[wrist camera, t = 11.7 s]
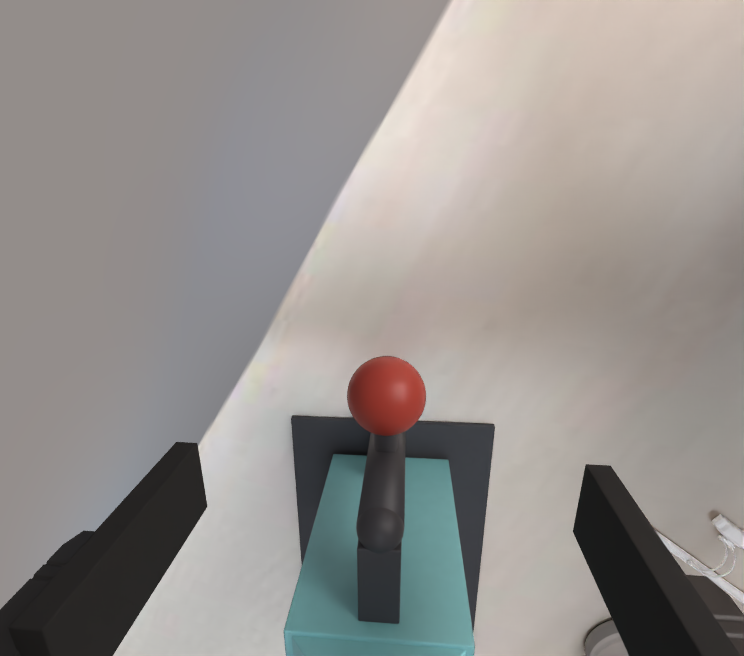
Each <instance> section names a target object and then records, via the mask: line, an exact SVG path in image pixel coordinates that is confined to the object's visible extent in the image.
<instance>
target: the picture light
mask: <svg viewBox="0 0 744 656" xmlns="http://www.w3.org/2000/svg"><path fill="white" fill-rule="evenodd" d="M712 523H713V524H714V525H715V526H716V528H717V529H718V531H719V532H720V533H721V534H722V535H723V536H724V537H722V536H721V535H719V536H718V539H719V540H721V541H722V542H723V544H724V547H725V557H724V560H723V562H722V563H721V564H720V565H719V566H718V567H716V568H714V569H709V568H708V567H706V566H705V565H703V564H702V563H701V562H699V561H698V560H697V559H695V558H694V557H692V556H691V555H690V554H688V553H687V552H685V551H684V550H683V549H681V548H680V547H678V546H677V545H676V544H674V543H673V542H671V541H670V540H669V539H667V538H666V537H664V536H663V535H662V534H660V533H659V532H657V531H656V530H655V529H654V530H655V531H656V533H657V534H658V535H659V537H660V538H661V540H662V541H663V543H664V544H665V546H666V547H667V549H668V550H669V551H670V552H672V553H673V554H674V555H676V556H677V557H679V558H680V559H681V560H683V561H684V562H686V563H687V564H688V565H690V566H691V567H693V568H694V569H695V570H697V571H698V572H700V573H701V574H702V575H704V576H707V577H708V578H709V579H710V580H711V581H713V582H714V583H715V584H716V585H718V586H719V587H721V588H722V589H724V590H725V591H726V592H728V593H729V594H731V595H732V596H733V597H735V598H736V599H738V600H739V601H740V602H741V603H742V604H744V593H743V592H741V591H740V590H738V589H737V588H736V587H734V586H733V585H731V584H730V583H729V582H727V581H726V580H724V579H723V578H722V577H724V576H726V575H728V574H729V573H731V571H732V570H733V569H734V567H735V564H736V555H735V552H734V549H735V545H736V546H738V547H740V548H742V549H744V532H743V531H742V530H741V529H739V528H738V527H737V526H735V525H734V524H733V523H731V522H730V521H729V520H727V519H726V518H725V517H724V516H722V515H719V516H717V517H716V518H715V519H713V520H712ZM733 544H735V545H733ZM726 545H728V546H729V547H730V548H731V549H732V552H733V555H734V562H733V565H732V567H731V569H730V570H729V571H728V572H727V573H725V574H723V575H717V574H716V573H715V572H713V571H715V570H717V569H719V568H721V567H722V566H723V565H724V563H725V561H726V559H727V554H728V553H727V547H726Z"/></svg>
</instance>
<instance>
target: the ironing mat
mask: <svg viewBox="0 0 744 656" xmlns="http://www.w3.org/2000/svg"><path fill="white" fill-rule="evenodd" d="M291 424H292V438H293V451H294V465H295V479H296V492H297V506H298V520H299V533H300V547H301V561H302V564H303V560H304V557H305V553H306V550H307V546H308V543H309V539H310V536H311V532H312V528H313V525H314V521H315V518H316V514H317V511H318V507H319V504H320V500H321V497H322V493H323V489H324V486H325V482H326V479H327V475H328V472H329V468H330V465H331V461H332V457H333V454H343V455H363V456H367V453H368V446H369V440H370V433H371V432H369V431H367V430H365V429H364V428H363V427H361V426H360V425H359V424H358V423H357V421H356V420H355V419H354V418H334V417H310V416H292V418H291ZM494 430H495V427H494V424H478V423H454V422H430V421H417V422H416V423H415V424H414V425H413V426H412V427H411V428H409V429H408V430H406V451H405V458H425V459H446V460H448V461H449V467H450V475H451V482H452V489H453V496H454V503H455V510H456V517H457V524H458V531H459V538H460V545H461V552H462V559H463V566H464V573H465V580H466V588H467V595H468V602H469V609H470V616H471V623H472V630H474V620H475V611H476V601H477V592H478V582H479V573H480V563H481V554H482V544H483V535H484V525H485V515H486V506H487V496H488V487H489V477H490V468H491V458H492V449H493V439H494Z"/></svg>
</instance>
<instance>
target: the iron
mask: <svg viewBox="0 0 744 656" xmlns="http://www.w3.org/2000/svg"><path fill="white" fill-rule="evenodd" d="M347 400H348V406H349V409H350V411H351V414H352V416H353V417H354V419H355V420H356V421H357V423H358V424H359V425H360V426H361V427H363V428H364V429H365V430H367V431H369V432H371V433H370V440H369V446H368V453H367V456H363V455H343V454H333V457H332V461H331V465H330V468H329V472H328V475H327V479H326V482H325V486H324V489H323V493H322V497H321V500H320V504H319V507H318V511H317V514H316V518H315V521H314V525H313V528H312V532H311V536H310V539H309V543H308V546H307V550H306V553H305V557H304V560H303V564H302V567H301V571H300V575H299V578H298V582H297V585H296V589H295V592H294V596H293V599H292V603H291V607H290V610H289V614H288V617H287V621H286V624H285V628H284V639H285V650H286V656H474V650H475V644H474V637H473V630H472V623H471V616H470V609H469V602H468V595H467V588H466V580H465V573H464V566H463V559H462V552H461V545H460V538H459V531H458V524H457V517H456V510H455V503H454V496H453V489H452V482H451V475H450V467H449V461H448V460H446V459H425V458H405V451H406V430H408V429H409V428H411V427H412V426H413V425H414V424H415V423H416V422H417V421H418V419H419V418H420V416H421V415H422V412H423V410H424V407H425V401H426V391H425V386H424V383H423V380H422V378H421V376H420V374H419V373H418V372H417V370H416V369H415V368H414V367H413V366H412V365H410V364H409V363H408V362H406V361H404V360H402V359H400V358H396V357H391V356H382V357H377V358H373V359H371V360H369V361H367V362H365V363H364V364H362V365H361V366H360V367H359V368H358V369H357V370H356V372H355V373H354V374H353V376H352V378H351V380H350V383H349V386H348V391H347Z"/></svg>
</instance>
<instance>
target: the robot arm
mask: <svg viewBox="0 0 744 656" xmlns="http://www.w3.org/2000/svg"><path fill="white" fill-rule="evenodd" d="M206 508H207V502H206V495H205V489H204V483H203V476H202V470H201V464H200V457H199V451H198V445H197V443H185V442H176V443H175V444H174V445H173V446H172V448H171V449H170V450H169V451H168V452H167V453H166V454H165V455H164V456H163V457H162V458H161V460H160V461H159V462H158V463H157V464H156V465H155V466H154V467H153V468H152V469H151V470H150V472H149V473H148V474H147V475H146V476H145V477H144V478H143V479H142V480H141V481H140V483H139V484H138V485H137V486H136V487H135V488H134V489H133V490H132V491H131V492H130V494H129V495H128V496H127V497H126V498H125V499H124V500H123V501H122V502H121V504H120V505H119V506H118V507H117V508H116V509H115V510H114V511H113V512H112V513H111V515H110V516H109V517H108V518H107V519H106V520H105V521H104V522H103V523H102V524H101V526H99V528H98V529H97V530H96V531H95V532H94V531H83V532H81V533H80V534H78V535H77V536H75V537H74V538H72V539H71V540H69V541H68V542H66V543H65V544H63V545H62V546H61V547H60V548H59V549H58V550H57V551H56V552H55V554H54V555H53V556H52V557H51V558H50V559H49V560H48V561H47V564H46V565H43V566H42V567H41V568H40V569H39V570H38V571H37V572H36V573H35V574H34V577H33V578H32V579H29V581H28V582H26V584H25V585H24V586H23V587H22V588H21V589H20V590H19V591H18V592H17V593H16V594H15V595H14V596H13V597H12V598H11V599H10V600H9V601H8V602H7V603H6V604H5V605H4V606H3V607H2V608H1V610H0V656H113V654H114V653H115V651H116V650H117V648H118V646H119V645H120V643H121V642H122V640H123V638H124V637H125V635H126V634H127V632H128V631H129V629H130V627H131V626H132V624H133V623H134V621H135V620H136V618H137V616H138V615H139V613H140V612H141V610H142V609H143V607H144V605H145V604H146V602H147V601H148V599H149V598H150V596H151V594H152V593H153V591H154V590H155V588H156V587H157V585H158V583H159V582H160V580H161V579H162V577H163V576H164V574H165V572H166V571H167V569H168V568H169V566H170V565H171V563H172V561H173V560H174V558H175V557H176V555H177V554H178V552H179V550H180V549H181V547H182V546H183V544H184V542H185V541H186V539H187V538H188V536H189V535H190V533H191V531H192V530H193V528H194V527H195V525H196V524H197V522H198V520H199V519H200V517H201V516H202V514H203V513H204V511H205V509H206ZM573 533H574V535H575V537H576V540H577V542H578V544H579V546H580V548H581V551H582V553H583V555H584V557H585V559H586V562H587V564H588V566H589V568H590V570H591V573H592V575H593V577H594V579H595V582H596V584H597V586H598V588H599V590H600V593H601V595H602V597H603V599H604V601H605V604H606V606H607V608H608V610H609V613H610V615H611V617H612V619H613V621H614V624H615V626H616V628H617V630H618V632H619V635H620V637H621V639H622V641H623V644H624V646H625V648H626V650H627V652H628V655H629V656H744V614H743V613H742V612H741V610H740V609H739V608H738V606H737V605H736V604H735V602H734V601H733V600H732V598H731V597H730V596H729V595H728V594H727V593H726V592H724V591H723V590H722V589H721V588H720V587H718V586H717V585H716V584H715V583H714V582H713V581H711V580H710V579H709V578H708V577H707V576H693V575H685V573H684V572H683V570H682V569H681V567H680V566H679V565H678V563H677V562H676V560H675V559H674V557H673V556H672V554H671V553H670V551H669V550H668V549H667V547H666V546H665V544H664V543H663V541H662V540H661V538H660V537H659V535H658V534H657V533H656V531H655V530H654V528H653V527H652V525H651V524H650V522H649V521H648V519H647V518H646V517H645V515H644V514H643V512H642V511H641V509H640V508H639V506H638V505H637V504H636V502H635V501H634V499H633V498H632V496H631V495H630V493H629V492H628V490H627V489H626V488H625V486H624V485H623V483H622V482H621V480H620V479H619V477H618V476H617V474H616V473H615V472H614V470H613V469H612V467H611V466H607V465H589V464H586V466H585V471H584V476H583V481H582V487H581V492H580V497H579V502H578V507H577V513H576V518H575V523H574V528H573Z"/></svg>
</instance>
